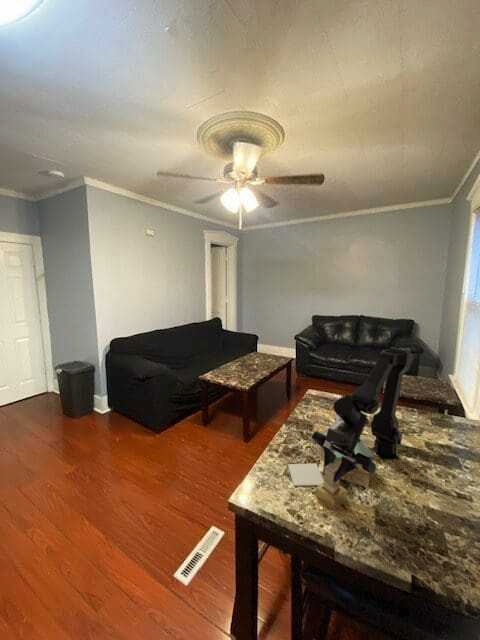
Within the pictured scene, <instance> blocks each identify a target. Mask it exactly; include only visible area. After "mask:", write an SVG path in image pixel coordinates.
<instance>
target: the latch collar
mask: <svg viewBox="0 0 480 640" xmlns="http://www.w3.org/2000/svg"><path fill="white" fill-rule="evenodd" d="M347 496H348V490H347V488H344V487H343V486H342V485H340V484H339V491H338V492H337V493H336V494H335V495H332V494H330V493H329V492H327V491H326V490H324V482H323V483H321V484H320V485H319V486H315V498H317V500H320V501H321V502H323V503H324V504H325V505H327V506H328V507H329V508H331V509H332V510H334V511H335V510H336V509H337V508H338V507H339V506H340V505H342V503H344V502H345V501H346V500H347Z"/></svg>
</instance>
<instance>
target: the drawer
mask: <svg viewBox="0 0 480 640" xmlns="http://www.w3.org/2000/svg"><path fill="white" fill-rule="evenodd" d="M360 440H361V441H360V443H357V445H356V447H355V449H354V452H355V454H357V453H358V452H359V453H361V454H363V455H365V456H367V457H369V458H370V459H371V460H372V461H374V460H375V456H374V454H373V453H372V452H371V451H370V449H369V448H368V447H367V445H365V442H364V441H363V440H362V439H361V438H360ZM331 442H332V441H331ZM333 443H334V442H333ZM334 454H335V455H336V458H335V460H334V462H333V464H334V465H336V466H338V467H339V466H340V464H341V461H342V456H343V457H345V458H346V456H344V455H342V454H340V453H338V452H337V451H335V452H334ZM320 457H321V460H322V461H323V462H324V458H325V454H324V449H323V448H322V447H321V446H320ZM349 474H351V475H354V474H370V473H369V472H367V471H366V470H364V469H363V468H362V465H360V464H359V465H358V469H356V468H355V469H353V470H351V471H350V472H348V473H347V474H346V475H349Z"/></svg>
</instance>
